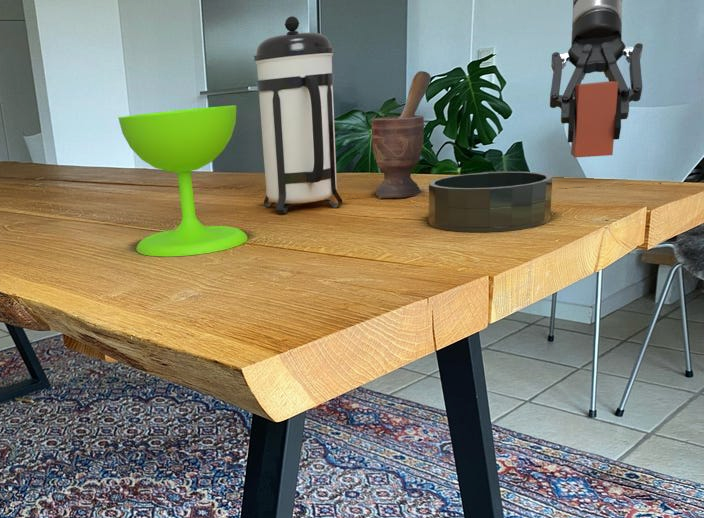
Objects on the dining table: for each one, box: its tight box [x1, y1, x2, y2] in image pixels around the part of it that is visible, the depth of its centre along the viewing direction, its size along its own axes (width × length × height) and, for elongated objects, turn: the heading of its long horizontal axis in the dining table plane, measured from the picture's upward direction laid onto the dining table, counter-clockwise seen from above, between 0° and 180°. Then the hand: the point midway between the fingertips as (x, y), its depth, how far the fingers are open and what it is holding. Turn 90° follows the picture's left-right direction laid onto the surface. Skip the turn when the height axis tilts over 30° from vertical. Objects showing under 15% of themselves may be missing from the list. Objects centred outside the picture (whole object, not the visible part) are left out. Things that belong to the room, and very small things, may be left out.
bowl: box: [428, 171, 553, 233], centre depth 99 cm, size 15×16×6 cm
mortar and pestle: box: [370, 70, 432, 200], centre depth 126 cm, size 12×9×20 cm
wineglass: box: [117, 105, 248, 257], centre depth 102 cm, size 16×16×18 cm
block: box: [570, 80, 618, 158], centre depth 118 cm, size 6×6×11 cm
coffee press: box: [253, 15, 344, 215], centre depth 120 cm, size 17×16×30 cm
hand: (593, 134), depth 116 cm, fingers closed on block, 6 cm apart
